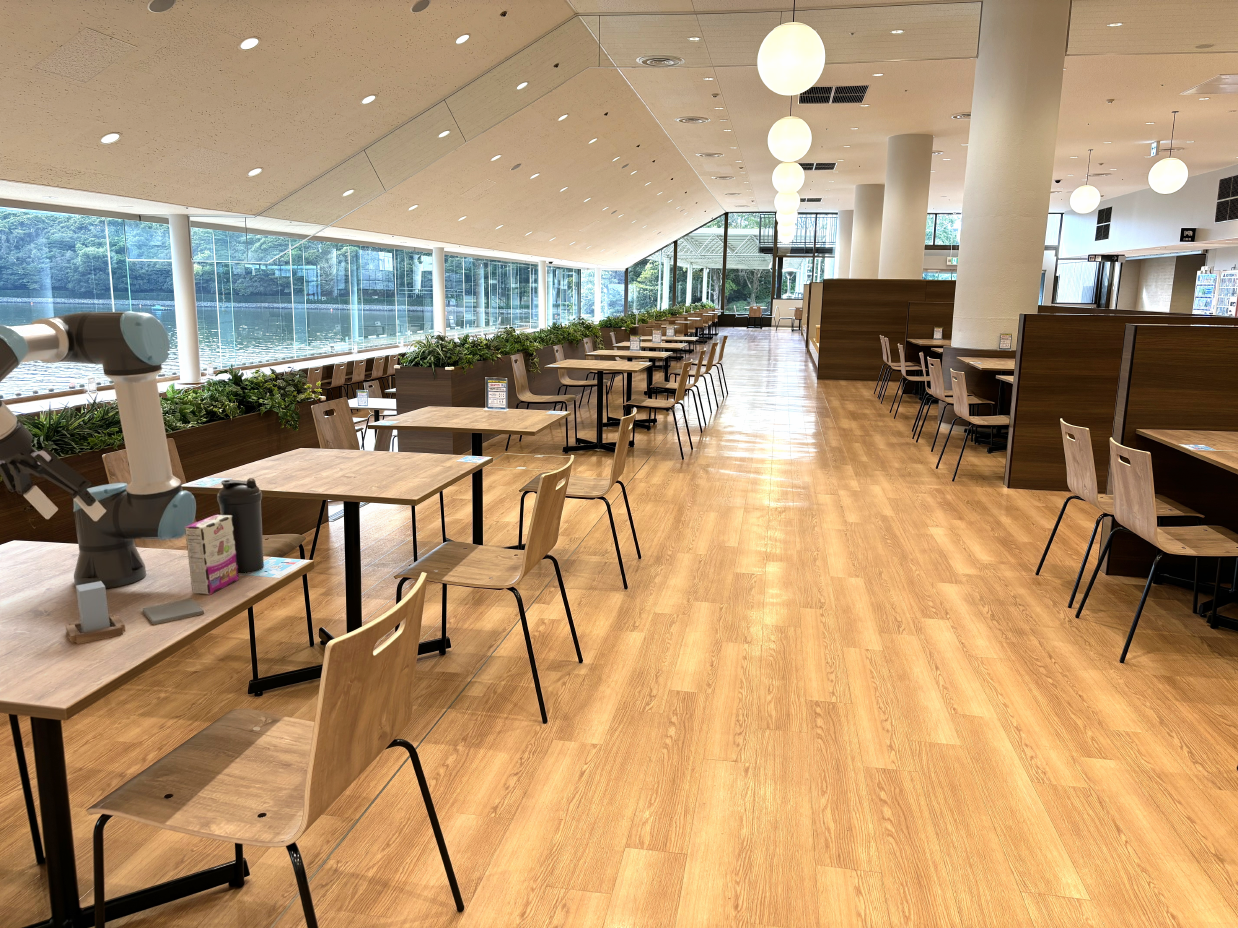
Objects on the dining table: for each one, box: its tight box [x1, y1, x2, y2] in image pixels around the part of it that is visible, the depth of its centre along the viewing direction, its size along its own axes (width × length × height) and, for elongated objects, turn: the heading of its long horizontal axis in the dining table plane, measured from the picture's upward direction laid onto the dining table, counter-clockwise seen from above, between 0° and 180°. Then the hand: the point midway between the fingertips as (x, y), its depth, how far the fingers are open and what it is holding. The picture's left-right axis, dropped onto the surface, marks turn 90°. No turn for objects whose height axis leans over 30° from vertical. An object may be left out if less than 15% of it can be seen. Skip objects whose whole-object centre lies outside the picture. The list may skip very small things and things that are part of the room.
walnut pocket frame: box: [65, 614, 126, 645], centre depth 177 cm, size 10×10×2 cm
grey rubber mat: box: [141, 597, 205, 625], centre depth 188 cm, size 10×10×1 cm
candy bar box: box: [185, 514, 240, 595], centre depth 203 cm, size 11×5×16 cm, turn 168°
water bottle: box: [216, 477, 265, 575], centre depth 216 cm, size 10×10×23 cm
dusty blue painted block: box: [75, 581, 111, 634], centre depth 176 cm, size 4×4×10 cm
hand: (76, 515), depth 167 cm, fingers open, 13 cm apart
